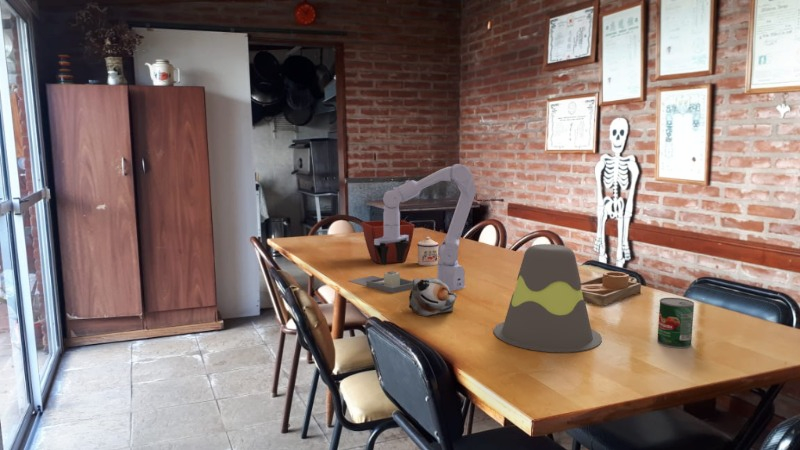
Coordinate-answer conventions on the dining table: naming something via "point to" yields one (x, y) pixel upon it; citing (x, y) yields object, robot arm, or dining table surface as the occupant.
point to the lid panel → (363, 280)
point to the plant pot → (377, 231)
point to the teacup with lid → (428, 252)
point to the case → (380, 286)
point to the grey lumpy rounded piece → (431, 297)
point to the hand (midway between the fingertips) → (391, 262)
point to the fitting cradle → (609, 297)
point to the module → (392, 279)
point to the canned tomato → (675, 322)
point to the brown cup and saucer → (608, 283)
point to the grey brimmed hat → (548, 304)
